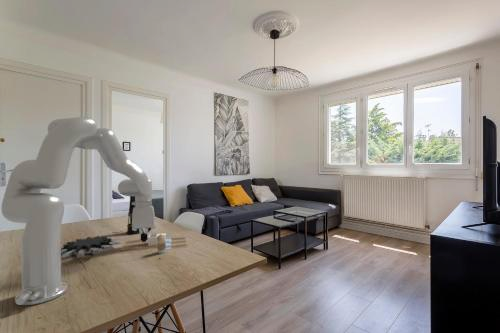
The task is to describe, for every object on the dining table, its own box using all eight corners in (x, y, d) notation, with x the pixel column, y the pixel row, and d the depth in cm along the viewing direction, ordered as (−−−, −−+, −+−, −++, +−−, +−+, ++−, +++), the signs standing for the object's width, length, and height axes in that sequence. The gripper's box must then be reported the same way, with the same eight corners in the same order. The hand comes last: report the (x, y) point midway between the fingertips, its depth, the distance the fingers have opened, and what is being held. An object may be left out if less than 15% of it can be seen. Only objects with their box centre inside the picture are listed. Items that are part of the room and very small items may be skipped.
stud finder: (165, 244, 124) (165, 235, 124) (148, 245, 121) (148, 236, 121) (165, 241, 128) (165, 232, 128) (149, 242, 126) (148, 234, 126)
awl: (165, 256, 111) (165, 236, 111) (157, 256, 110) (157, 237, 110) (165, 253, 114) (165, 234, 114) (157, 254, 113) (157, 235, 113)
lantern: (135, 235, 144) (135, 182, 143) (122, 233, 147) (122, 182, 146) (146, 231, 152) (146, 181, 152) (134, 230, 155) (133, 181, 155)
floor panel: (186, 249, 119) (186, 247, 119) (118, 256, 111) (118, 253, 111) (184, 237, 138) (184, 235, 138) (127, 242, 130) (127, 240, 130)
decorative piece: (88, 231, 138) (136, 234, 132) (88, 238, 138) (136, 241, 132) (29, 250, 109) (88, 255, 103) (30, 259, 109) (89, 264, 103)
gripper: (125, 206, 117) (125, 245, 117) (159, 204, 122) (159, 242, 122) (128, 203, 124) (128, 240, 125) (160, 202, 129) (160, 237, 129)
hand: (144, 241), depth 123 cm, fingers closed
